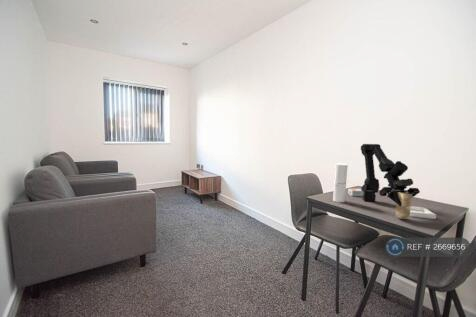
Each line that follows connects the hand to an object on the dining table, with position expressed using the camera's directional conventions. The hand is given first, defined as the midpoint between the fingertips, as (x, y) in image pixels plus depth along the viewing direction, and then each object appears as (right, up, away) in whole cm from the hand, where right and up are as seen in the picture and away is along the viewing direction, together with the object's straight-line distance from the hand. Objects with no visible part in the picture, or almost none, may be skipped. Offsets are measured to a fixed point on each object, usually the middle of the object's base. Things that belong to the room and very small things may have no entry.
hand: (405, 206), depth 119 cm
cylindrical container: (-21, -4, +33) cm, 39 cm away
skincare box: (-6, 0, +48) cm, 48 cm away
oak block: (0, -6, +2) cm, 7 cm away
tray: (+15, -7, +11) cm, 19 cm away
